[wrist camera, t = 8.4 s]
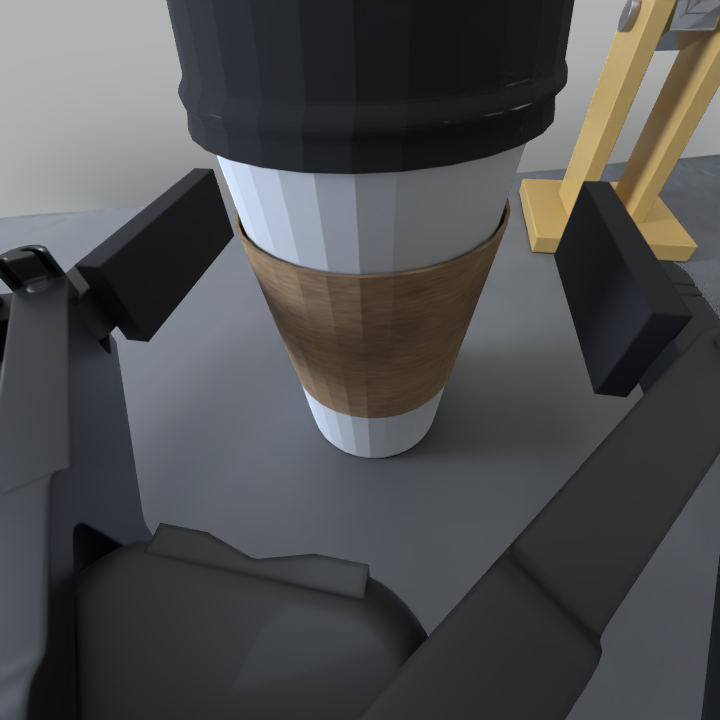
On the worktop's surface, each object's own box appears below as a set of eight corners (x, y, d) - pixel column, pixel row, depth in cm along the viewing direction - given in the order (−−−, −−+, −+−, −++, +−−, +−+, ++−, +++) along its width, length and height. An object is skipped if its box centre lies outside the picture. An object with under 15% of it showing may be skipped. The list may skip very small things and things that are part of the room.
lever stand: (687, 262, 25) (901, -39, 15) (531, 252, 26) (626, -26, 16) (641, 197, 31) (767, -42, 21) (518, 192, 33) (580, -33, 23)
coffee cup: (340, 326, 22) (300, -51, 11) (482, 372, 19) (624, -75, 8) (251, 438, 17) (10, -43, 6) (425, 523, 14) (594, -96, 3)
